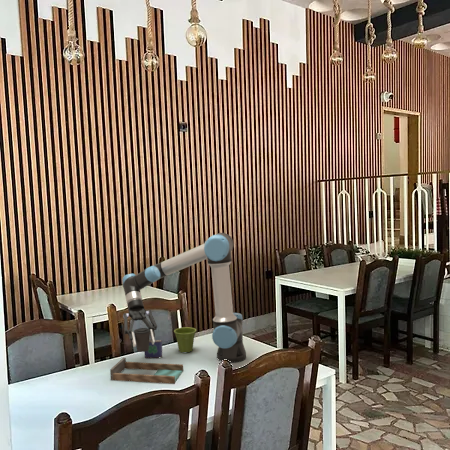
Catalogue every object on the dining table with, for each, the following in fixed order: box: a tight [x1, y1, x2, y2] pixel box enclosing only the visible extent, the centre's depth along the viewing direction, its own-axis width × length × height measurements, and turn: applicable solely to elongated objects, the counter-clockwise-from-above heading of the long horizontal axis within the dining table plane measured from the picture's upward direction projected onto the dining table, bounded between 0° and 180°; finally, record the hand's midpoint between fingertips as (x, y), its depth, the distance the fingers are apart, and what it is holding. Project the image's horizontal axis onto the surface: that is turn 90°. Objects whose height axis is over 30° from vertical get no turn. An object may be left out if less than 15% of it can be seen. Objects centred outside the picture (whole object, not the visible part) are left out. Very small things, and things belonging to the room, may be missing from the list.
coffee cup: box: [133, 327, 151, 353], centre depth 231 cm, size 8×8×10 cm
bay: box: [109, 357, 184, 385], centre depth 232 cm, size 30×16×5 cm, turn 80°
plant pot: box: [173, 326, 197, 353], centre depth 266 cm, size 12×12×11 cm
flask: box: [144, 337, 163, 359], centre depth 256 cm, size 9×3×11 cm, turn 87°
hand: (144, 344), depth 228 cm, fingers closed on coffee cup, 8 cm apart
